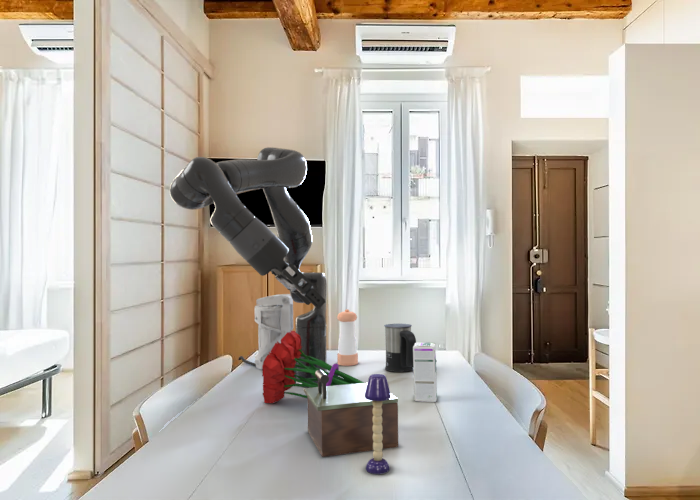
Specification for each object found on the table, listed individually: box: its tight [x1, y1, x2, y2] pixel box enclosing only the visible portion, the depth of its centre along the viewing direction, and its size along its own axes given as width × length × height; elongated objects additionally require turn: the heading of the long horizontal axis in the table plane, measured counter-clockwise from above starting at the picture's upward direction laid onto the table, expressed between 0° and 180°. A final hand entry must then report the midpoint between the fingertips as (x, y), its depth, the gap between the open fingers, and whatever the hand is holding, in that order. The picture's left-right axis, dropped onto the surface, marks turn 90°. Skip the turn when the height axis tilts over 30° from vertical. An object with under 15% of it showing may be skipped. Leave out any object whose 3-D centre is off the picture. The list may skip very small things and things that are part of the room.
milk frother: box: [383, 323, 437, 373], centre depth 163 cm, size 14×16×15 cm
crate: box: [307, 398, 399, 458], centre depth 101 cm, size 16×14×9 cm
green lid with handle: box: [303, 370, 399, 411], centre depth 101 cm, size 16×14×6 cm
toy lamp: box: [365, 373, 392, 475], centre depth 87 cm, size 5×5×17 cm
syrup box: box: [412, 341, 438, 403], centre depth 129 cm, size 6×6×14 cm
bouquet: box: [261, 330, 365, 404], centre depth 125 cm, size 20×16×30 cm
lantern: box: [253, 293, 294, 370], centre depth 169 cm, size 13×10×25 cm
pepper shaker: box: [336, 308, 359, 367], centre depth 173 cm, size 7×7×19 cm
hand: (316, 303), depth 98 cm, fingers open, 8 cm apart
